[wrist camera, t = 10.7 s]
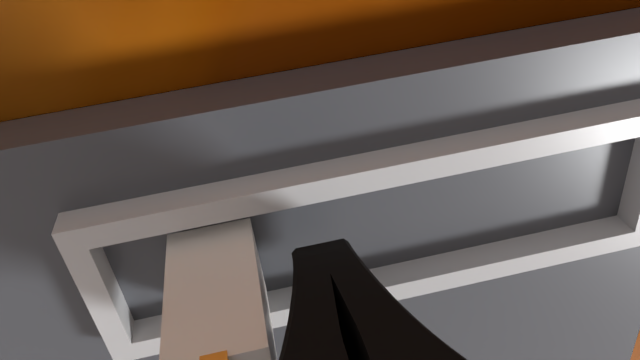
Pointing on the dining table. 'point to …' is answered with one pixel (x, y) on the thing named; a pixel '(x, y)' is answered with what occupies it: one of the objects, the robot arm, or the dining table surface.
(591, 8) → the dining table surface
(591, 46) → the console
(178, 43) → the dining table surface
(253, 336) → the fader knob
